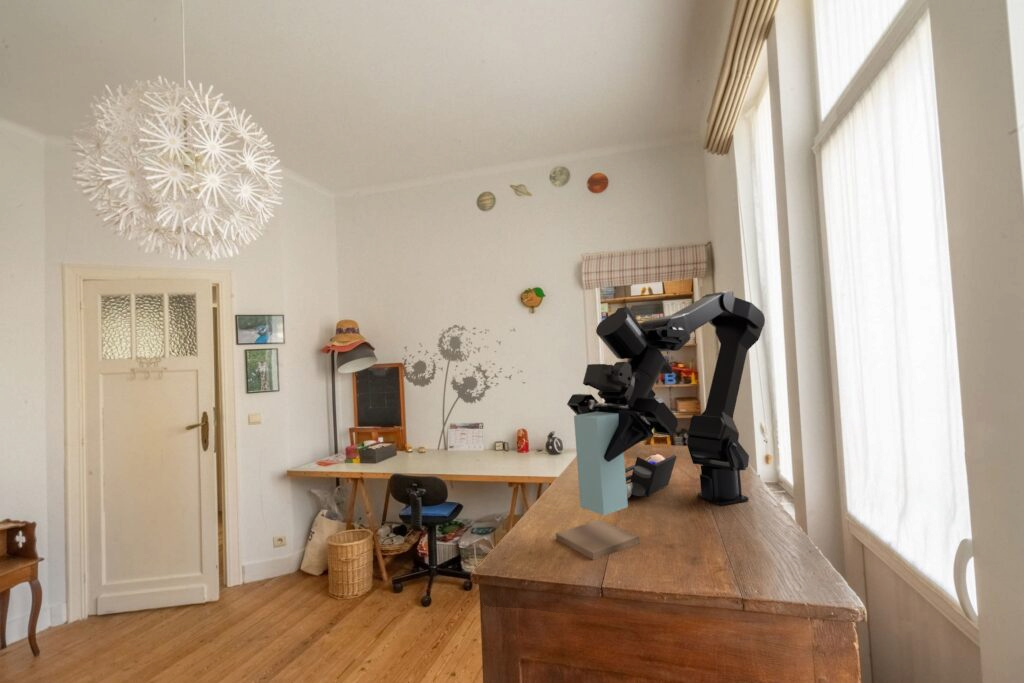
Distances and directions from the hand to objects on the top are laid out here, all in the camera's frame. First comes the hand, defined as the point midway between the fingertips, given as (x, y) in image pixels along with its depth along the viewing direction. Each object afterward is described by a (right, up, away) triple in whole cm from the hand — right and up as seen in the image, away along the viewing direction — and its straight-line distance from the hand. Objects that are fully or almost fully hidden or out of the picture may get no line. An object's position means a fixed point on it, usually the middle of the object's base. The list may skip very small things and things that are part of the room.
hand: (593, 457), depth 67 cm
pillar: (+2, -8, +1) cm, 8 cm away
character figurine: (+16, -14, +25) cm, 33 cm away
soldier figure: (+8, -14, +23) cm, 28 cm away
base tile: (+1, -14, +2) cm, 14 cm away
